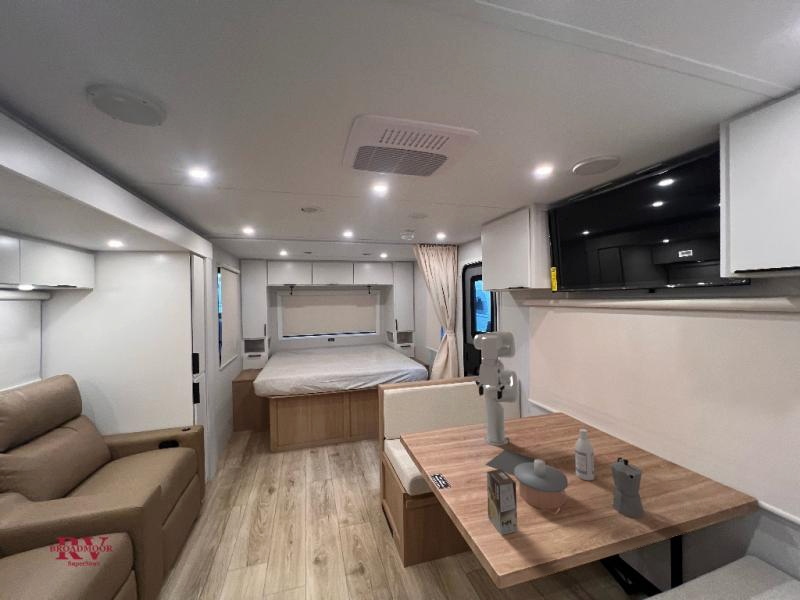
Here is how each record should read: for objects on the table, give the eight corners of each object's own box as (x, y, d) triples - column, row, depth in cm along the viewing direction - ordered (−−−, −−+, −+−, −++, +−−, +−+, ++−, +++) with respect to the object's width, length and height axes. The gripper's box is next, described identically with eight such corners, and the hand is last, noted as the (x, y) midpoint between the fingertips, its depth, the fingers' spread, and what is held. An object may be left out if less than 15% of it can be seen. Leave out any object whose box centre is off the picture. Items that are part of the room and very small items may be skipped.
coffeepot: (651, 525, 103) (648, 471, 103) (617, 518, 106) (615, 466, 107) (634, 498, 117) (633, 451, 118) (606, 493, 121) (604, 447, 121)
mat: (505, 450, 158) (505, 449, 158) (547, 463, 144) (547, 463, 144) (485, 465, 143) (485, 464, 143) (530, 482, 129) (530, 481, 129)
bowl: (528, 479, 131) (527, 463, 131) (569, 495, 120) (568, 477, 120) (512, 496, 119) (511, 478, 120) (556, 515, 108) (555, 495, 109)
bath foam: (588, 472, 136) (586, 427, 137) (598, 481, 129) (596, 433, 130) (572, 472, 136) (571, 427, 137) (581, 481, 129) (580, 433, 130)
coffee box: (518, 531, 101) (517, 482, 101) (501, 535, 99) (499, 485, 100) (503, 513, 110) (501, 468, 110) (486, 516, 108) (485, 471, 109)
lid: (525, 460, 133) (525, 446, 134) (573, 476, 120) (573, 460, 120) (506, 478, 120) (505, 462, 120) (558, 499, 106) (558, 480, 107)
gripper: (509, 362, 147) (510, 398, 147) (477, 359, 159) (478, 392, 159) (502, 365, 142) (503, 402, 141) (470, 361, 154) (470, 395, 153)
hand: (490, 396), depth 150 cm, fingers open, 9 cm apart
